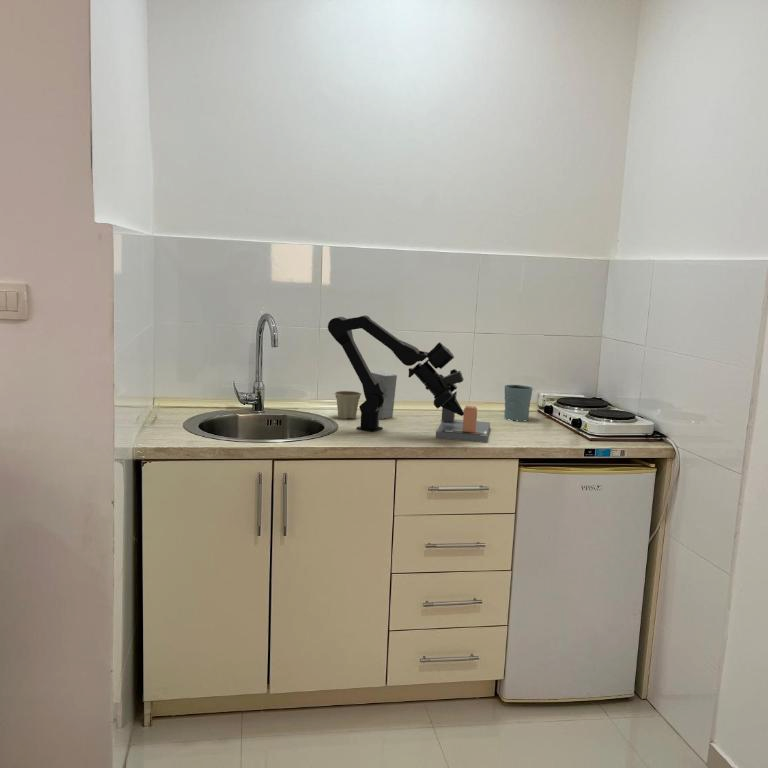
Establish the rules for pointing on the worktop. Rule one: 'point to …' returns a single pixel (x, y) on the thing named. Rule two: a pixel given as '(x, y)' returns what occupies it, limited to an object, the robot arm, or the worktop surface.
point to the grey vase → (389, 385)
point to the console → (456, 431)
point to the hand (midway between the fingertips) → (463, 414)
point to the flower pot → (347, 403)
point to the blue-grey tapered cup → (517, 402)
